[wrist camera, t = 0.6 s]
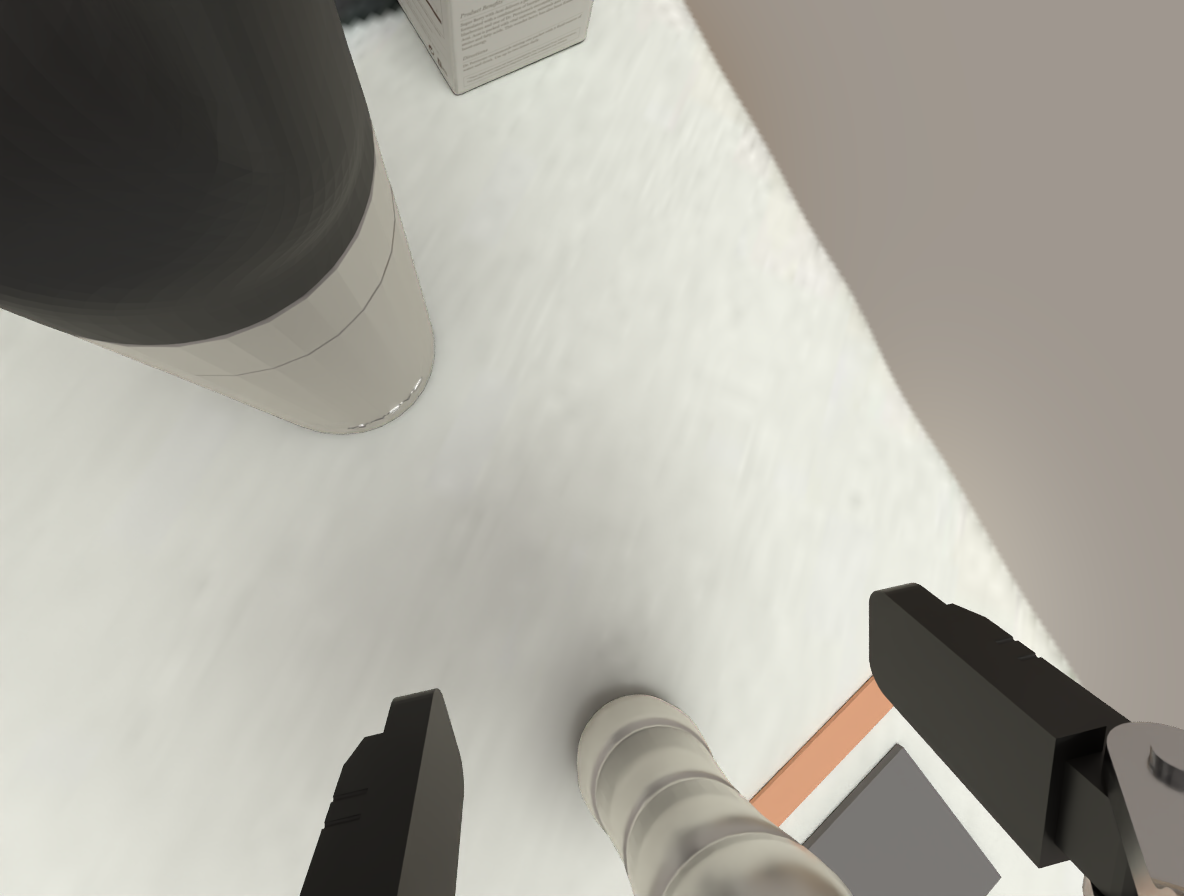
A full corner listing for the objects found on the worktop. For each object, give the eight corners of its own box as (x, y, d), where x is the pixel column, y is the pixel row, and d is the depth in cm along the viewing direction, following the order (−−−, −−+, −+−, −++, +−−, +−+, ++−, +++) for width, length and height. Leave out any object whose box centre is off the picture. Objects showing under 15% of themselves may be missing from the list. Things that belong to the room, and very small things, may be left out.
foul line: (580, 974, 29) (581, 979, 29) (891, 656, 34) (895, 658, 33) (604, 1003, 29) (605, 1008, 29) (910, 682, 34) (914, 684, 34)
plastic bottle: (597, 664, 30) (803, 964, 11) (706, 707, 31) (1078, 1052, 12) (549, 784, 29) (683, 1352, 10) (664, 824, 30) (993, 1414, 11)
